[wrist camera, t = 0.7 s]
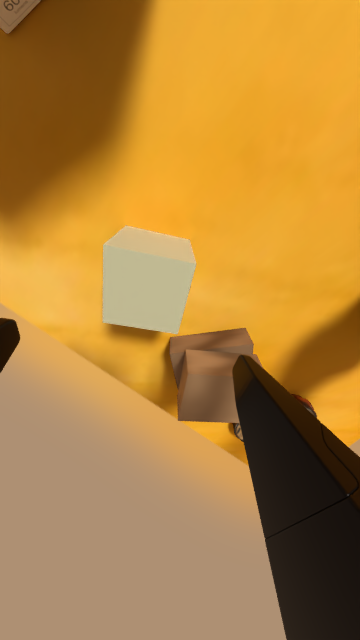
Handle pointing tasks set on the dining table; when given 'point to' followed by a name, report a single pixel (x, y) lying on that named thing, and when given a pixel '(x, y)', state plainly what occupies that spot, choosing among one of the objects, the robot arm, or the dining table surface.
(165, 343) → the dining table surface
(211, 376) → the walnut slab top
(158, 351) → the dining table surface
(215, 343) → the walnut slab low
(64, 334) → the dining table surface
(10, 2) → the light bulb box
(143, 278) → the sage block
